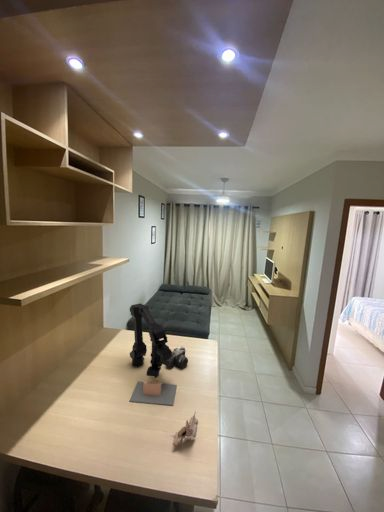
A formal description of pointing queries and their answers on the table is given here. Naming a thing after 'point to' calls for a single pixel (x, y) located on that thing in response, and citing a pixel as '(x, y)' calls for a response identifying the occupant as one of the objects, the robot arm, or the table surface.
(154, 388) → the block
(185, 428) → the bone fragment
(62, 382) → the table surface
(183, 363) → the camera
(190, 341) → the table surface
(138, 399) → the mat
